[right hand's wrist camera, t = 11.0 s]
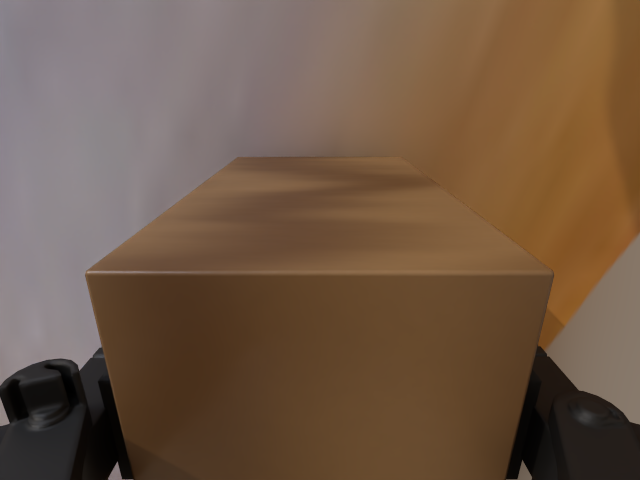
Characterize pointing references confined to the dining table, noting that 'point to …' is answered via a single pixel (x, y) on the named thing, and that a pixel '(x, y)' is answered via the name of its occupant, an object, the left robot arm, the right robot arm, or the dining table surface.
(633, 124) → the dining table surface
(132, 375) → the brick
